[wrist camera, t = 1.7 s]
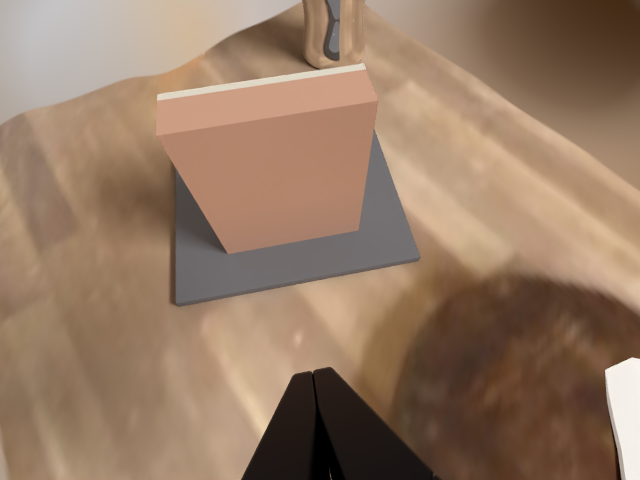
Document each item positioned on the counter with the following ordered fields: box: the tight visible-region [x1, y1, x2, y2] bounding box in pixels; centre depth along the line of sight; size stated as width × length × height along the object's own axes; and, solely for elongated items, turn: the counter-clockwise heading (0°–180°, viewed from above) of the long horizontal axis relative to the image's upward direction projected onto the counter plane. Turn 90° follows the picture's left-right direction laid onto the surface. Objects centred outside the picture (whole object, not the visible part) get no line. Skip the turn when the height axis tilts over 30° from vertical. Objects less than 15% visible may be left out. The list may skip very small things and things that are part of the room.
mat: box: [175, 130, 420, 307], centre depth 26 cm, size 16×16×1 cm
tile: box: [156, 63, 378, 254], centre depth 20 cm, size 2×9×11 cm, turn 101°
